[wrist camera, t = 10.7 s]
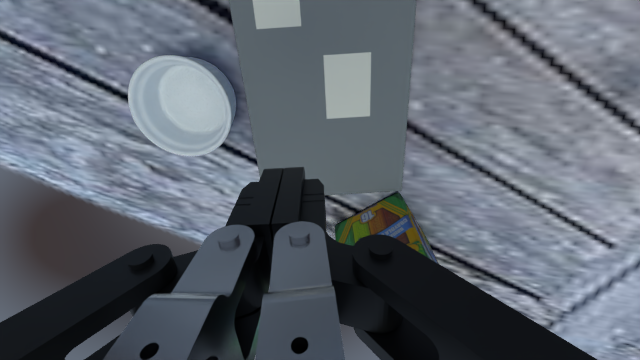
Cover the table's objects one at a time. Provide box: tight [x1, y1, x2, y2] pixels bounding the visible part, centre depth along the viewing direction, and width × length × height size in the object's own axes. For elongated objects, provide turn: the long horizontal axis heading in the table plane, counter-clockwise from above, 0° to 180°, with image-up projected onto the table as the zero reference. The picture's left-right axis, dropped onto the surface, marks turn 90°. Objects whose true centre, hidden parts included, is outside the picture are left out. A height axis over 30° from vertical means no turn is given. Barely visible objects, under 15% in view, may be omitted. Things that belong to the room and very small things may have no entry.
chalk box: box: [335, 193, 438, 263], centre depth 31 cm, size 9×9×15 cm
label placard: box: [229, 0, 416, 195], centre depth 29 cm, size 24×16×1 cm, turn 4°
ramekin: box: [128, 55, 236, 156], centre depth 28 cm, size 9×9×4 cm
